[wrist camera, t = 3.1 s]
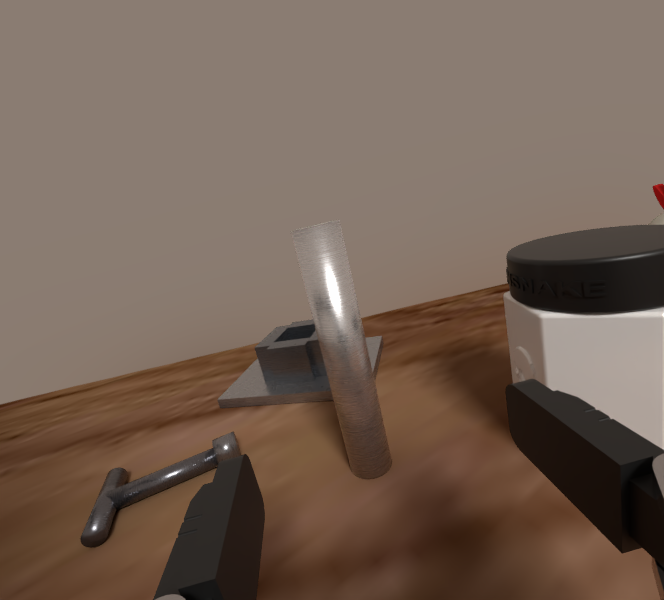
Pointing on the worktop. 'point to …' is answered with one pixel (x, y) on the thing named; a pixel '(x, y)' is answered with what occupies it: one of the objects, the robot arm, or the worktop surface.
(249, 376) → the chuck block
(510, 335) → the jar
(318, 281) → the steel rod
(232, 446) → the chuck key
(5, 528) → the worktop surface
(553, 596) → the worktop surface
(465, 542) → the worktop surface
